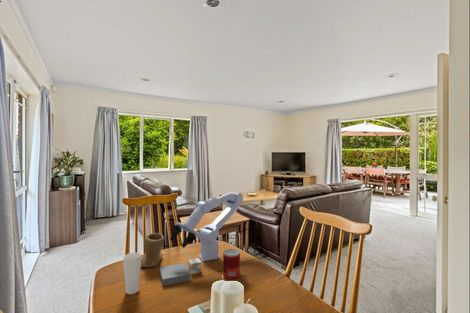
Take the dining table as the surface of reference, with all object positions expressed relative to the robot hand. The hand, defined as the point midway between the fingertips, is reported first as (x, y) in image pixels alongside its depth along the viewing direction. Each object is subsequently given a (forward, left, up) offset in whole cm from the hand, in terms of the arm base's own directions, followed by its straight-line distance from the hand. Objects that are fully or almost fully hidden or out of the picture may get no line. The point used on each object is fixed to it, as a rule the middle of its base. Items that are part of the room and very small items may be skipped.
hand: (176, 243), depth 117 cm
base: (+2, +6, -13) cm, 15 cm away
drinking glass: (+20, +11, -14) cm, 26 cm away
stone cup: (+10, -14, -14) cm, 22 cm away
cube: (-8, +4, -13) cm, 16 cm away
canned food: (-23, +15, -14) cm, 30 cm away
